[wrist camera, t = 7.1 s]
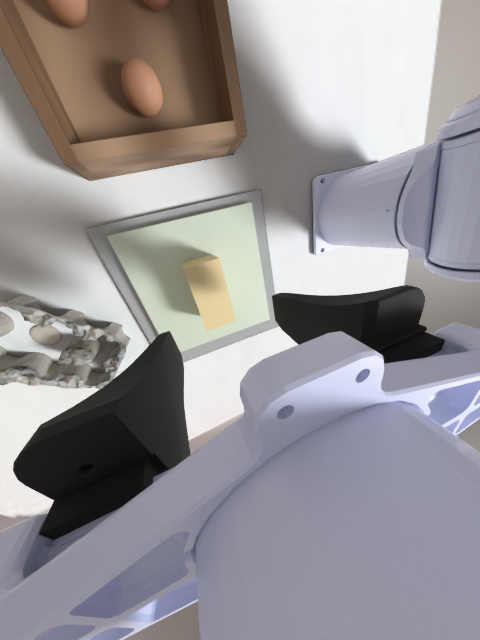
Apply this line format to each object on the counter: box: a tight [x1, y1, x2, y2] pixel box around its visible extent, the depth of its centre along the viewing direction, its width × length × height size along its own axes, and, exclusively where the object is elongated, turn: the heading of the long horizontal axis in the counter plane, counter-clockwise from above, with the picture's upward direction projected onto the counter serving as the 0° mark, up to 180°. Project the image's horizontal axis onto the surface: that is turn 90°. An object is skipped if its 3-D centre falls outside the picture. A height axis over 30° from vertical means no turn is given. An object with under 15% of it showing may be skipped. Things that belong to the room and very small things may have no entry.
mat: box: [85, 189, 279, 362], centre depth 20 cm, size 16×16×1 cm
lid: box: [107, 203, 270, 352], centre depth 17 cm, size 13×13×5 cm
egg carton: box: [0, 295, 130, 389], centre depth 16 cm, size 11×8×4 cm
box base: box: [0, 0, 247, 181], centre depth 10 cm, size 12×12×4 cm
